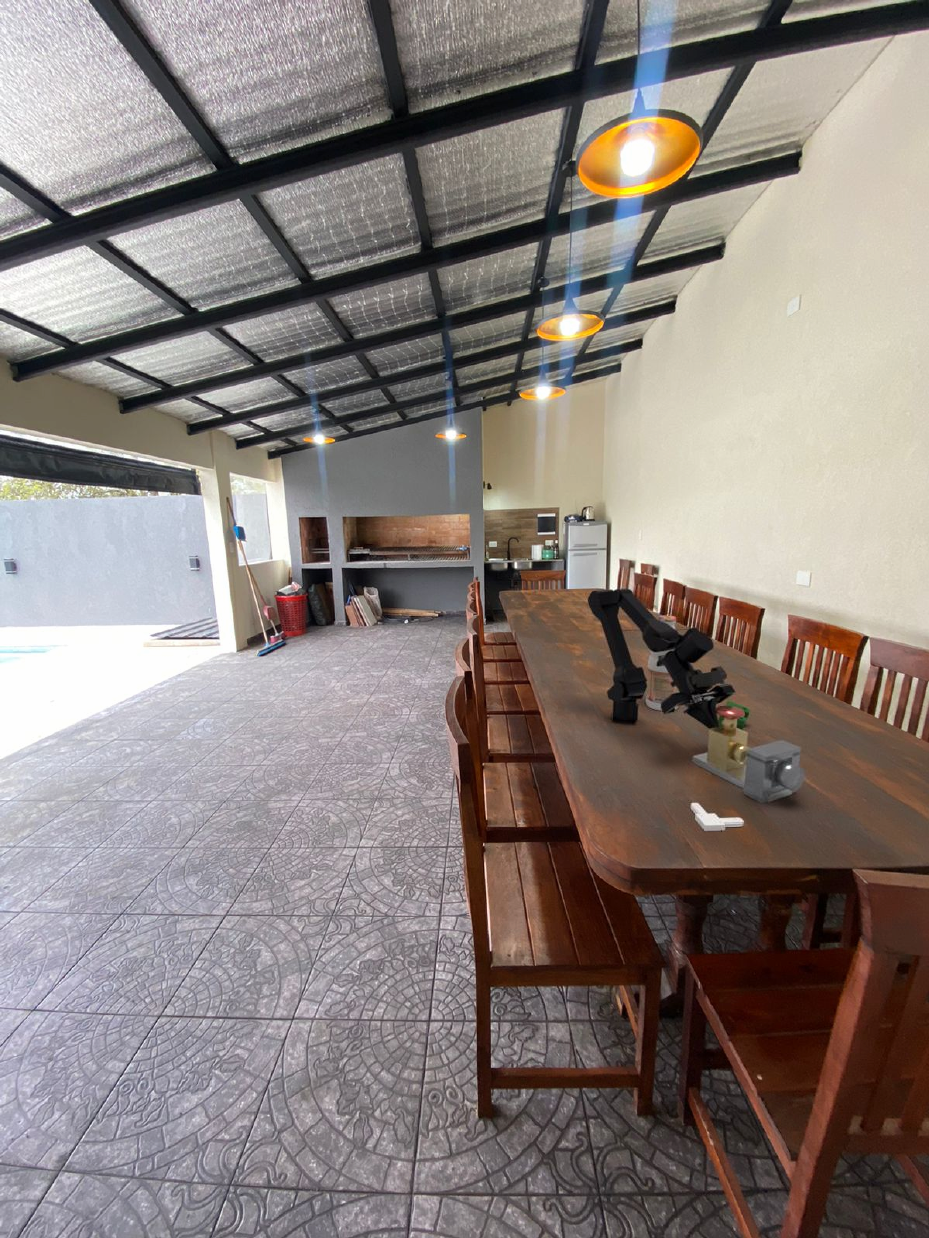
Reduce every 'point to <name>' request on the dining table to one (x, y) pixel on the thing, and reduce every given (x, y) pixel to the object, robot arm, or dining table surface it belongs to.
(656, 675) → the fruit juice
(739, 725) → the clamp
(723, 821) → the corner connector
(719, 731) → the valve
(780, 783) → the grey ball socket brick
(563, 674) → the dining table surface
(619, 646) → the robot arm
